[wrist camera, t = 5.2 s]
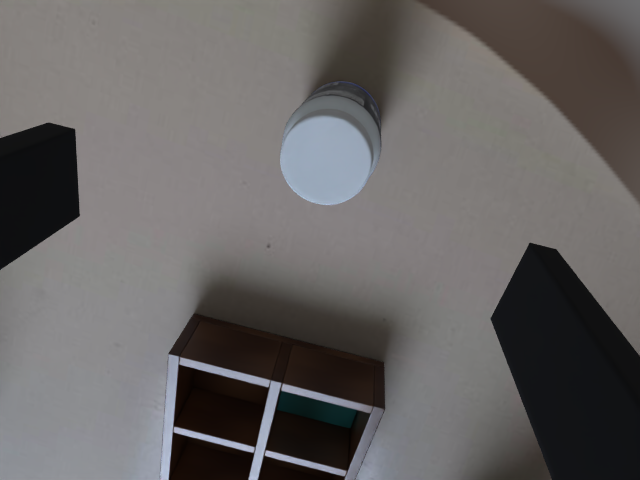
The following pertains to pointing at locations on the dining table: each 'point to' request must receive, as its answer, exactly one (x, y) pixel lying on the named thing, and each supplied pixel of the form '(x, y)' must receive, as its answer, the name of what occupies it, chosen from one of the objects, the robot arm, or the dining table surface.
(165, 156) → the dining table surface
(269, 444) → the grid
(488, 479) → the dining table surface
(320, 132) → the pill bottle
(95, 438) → the dining table surface
